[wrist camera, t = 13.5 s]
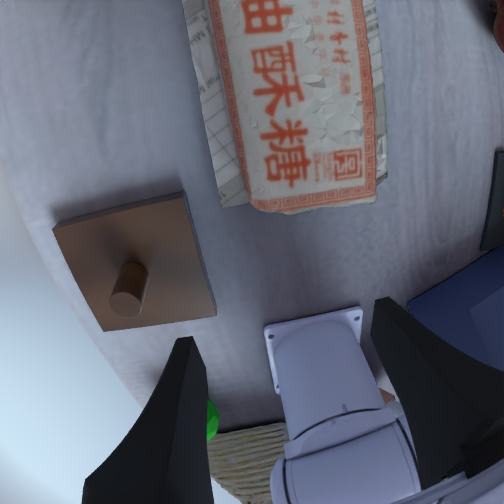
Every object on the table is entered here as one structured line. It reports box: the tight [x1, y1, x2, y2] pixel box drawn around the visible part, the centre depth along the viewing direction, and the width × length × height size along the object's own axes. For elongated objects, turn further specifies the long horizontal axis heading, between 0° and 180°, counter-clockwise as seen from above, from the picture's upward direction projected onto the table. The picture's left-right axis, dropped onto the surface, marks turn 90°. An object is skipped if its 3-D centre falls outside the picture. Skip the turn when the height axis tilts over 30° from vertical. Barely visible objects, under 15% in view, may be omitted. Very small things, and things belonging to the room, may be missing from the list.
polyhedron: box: [207, 400, 220, 441], centre depth 27 cm, size 5×5×5 cm
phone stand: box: [408, 245, 504, 371], centre depth 22 cm, size 12×12×12 cm
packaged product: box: [182, 0, 388, 215], centre depth 12 cm, size 18×5×10 cm
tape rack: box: [52, 191, 217, 332], centre depth 19 cm, size 9×9×4 cm
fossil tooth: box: [207, 422, 290, 504], centre depth 30 cm, size 12×6×15 cm
